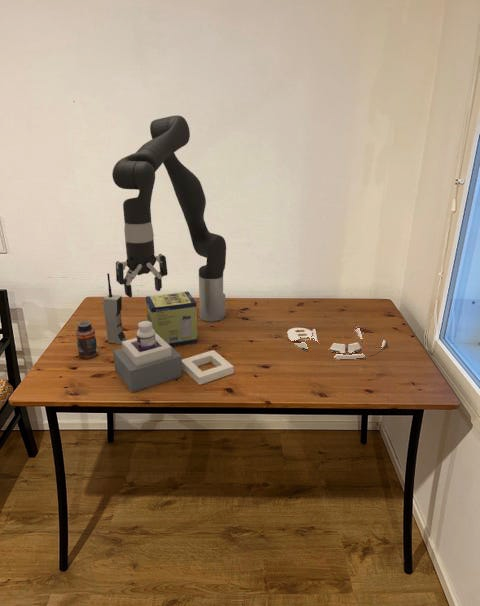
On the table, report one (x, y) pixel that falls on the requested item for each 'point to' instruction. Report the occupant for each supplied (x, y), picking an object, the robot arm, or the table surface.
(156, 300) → the protein box
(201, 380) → the collar
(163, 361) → the grey white square block
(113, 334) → the vintage mobile phone
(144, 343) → the pill bottle
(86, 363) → the table surface
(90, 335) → the supplement bottle
